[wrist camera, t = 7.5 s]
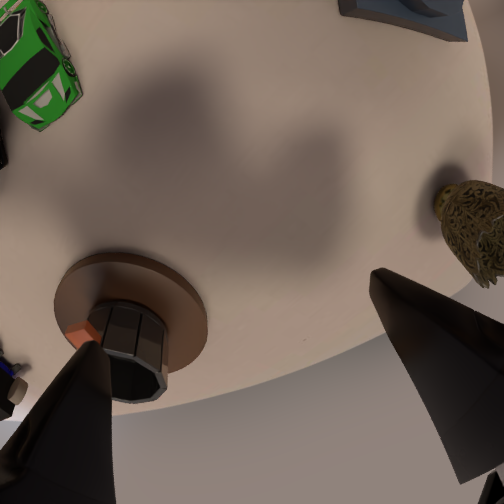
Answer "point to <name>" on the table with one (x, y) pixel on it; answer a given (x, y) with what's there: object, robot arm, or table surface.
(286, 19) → the table surface
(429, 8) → the button box
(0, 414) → the figurine character
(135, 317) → the black faceted container
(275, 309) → the table surface
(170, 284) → the turntable
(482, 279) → the cup
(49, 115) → the toy car
